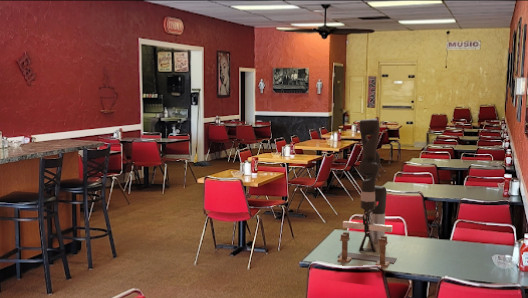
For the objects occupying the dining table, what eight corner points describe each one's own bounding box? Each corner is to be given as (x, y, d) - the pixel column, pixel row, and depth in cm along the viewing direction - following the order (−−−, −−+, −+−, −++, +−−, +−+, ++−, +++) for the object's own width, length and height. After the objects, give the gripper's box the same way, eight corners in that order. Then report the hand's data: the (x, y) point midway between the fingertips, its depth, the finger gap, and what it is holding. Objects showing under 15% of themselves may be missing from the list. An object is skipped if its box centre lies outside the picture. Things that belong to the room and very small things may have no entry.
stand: (340, 258, 306) (340, 231, 304) (389, 264, 296) (390, 236, 294) (337, 261, 300) (337, 234, 298) (387, 267, 290) (387, 239, 289)
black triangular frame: (358, 251, 319) (359, 230, 318) (359, 248, 325) (359, 227, 324) (375, 252, 317) (375, 231, 316) (375, 249, 323) (376, 228, 322)
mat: (341, 252, 316) (341, 251, 316) (396, 259, 305) (396, 257, 305) (337, 257, 308) (337, 256, 308) (393, 263, 296) (393, 262, 296)
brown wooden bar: (344, 226, 311) (344, 220, 311) (392, 231, 301) (392, 225, 301) (342, 227, 308) (342, 222, 308) (391, 232, 298) (391, 226, 298)
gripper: (363, 196, 311) (363, 227, 313) (357, 201, 298) (357, 233, 300) (377, 197, 308) (376, 229, 310) (372, 202, 295) (371, 235, 297)
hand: (367, 231), depth 305 cm, fingers closed on brown wooden bar, 3 cm apart
